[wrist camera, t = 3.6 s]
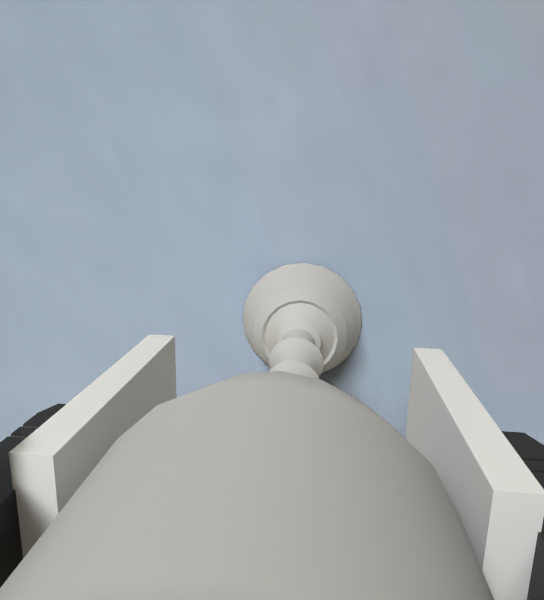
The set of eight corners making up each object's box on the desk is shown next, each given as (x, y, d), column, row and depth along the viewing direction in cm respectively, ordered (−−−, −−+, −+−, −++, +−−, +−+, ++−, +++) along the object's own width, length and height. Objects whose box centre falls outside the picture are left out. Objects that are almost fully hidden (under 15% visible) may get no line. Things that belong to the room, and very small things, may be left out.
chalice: (199, 361, 22) (-297, 1104, 4) (245, 216, 20) (-276, 475, 2) (353, 417, 22) (489, 1406, 4) (413, 276, 20) (1084, 975, 2)
